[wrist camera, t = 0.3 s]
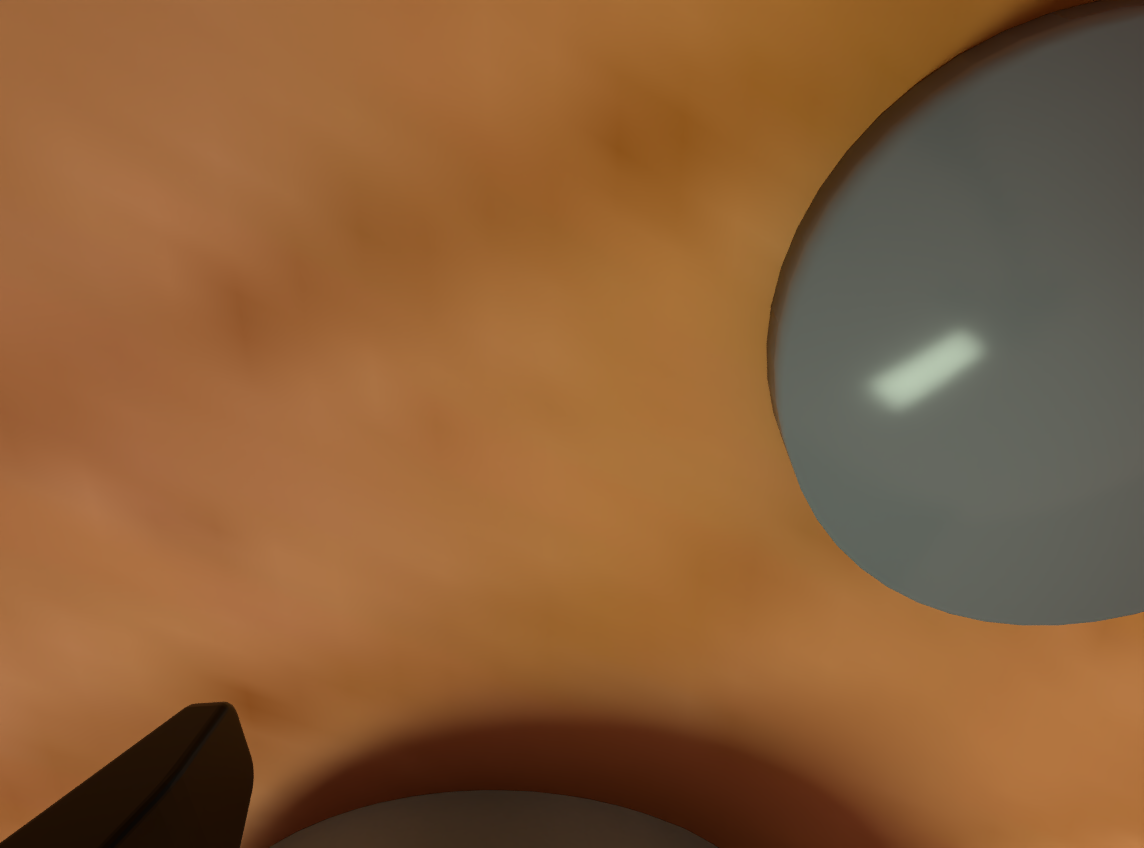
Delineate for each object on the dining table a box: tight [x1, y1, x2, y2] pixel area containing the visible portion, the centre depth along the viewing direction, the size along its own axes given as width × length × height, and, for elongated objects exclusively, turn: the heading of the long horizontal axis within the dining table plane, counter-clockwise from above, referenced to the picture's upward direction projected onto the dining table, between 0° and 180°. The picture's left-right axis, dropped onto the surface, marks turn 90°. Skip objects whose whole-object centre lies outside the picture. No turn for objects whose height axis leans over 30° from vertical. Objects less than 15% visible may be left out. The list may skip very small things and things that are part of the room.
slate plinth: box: [767, 0, 1144, 625], centre depth 23 cm, size 14×14×2 cm
